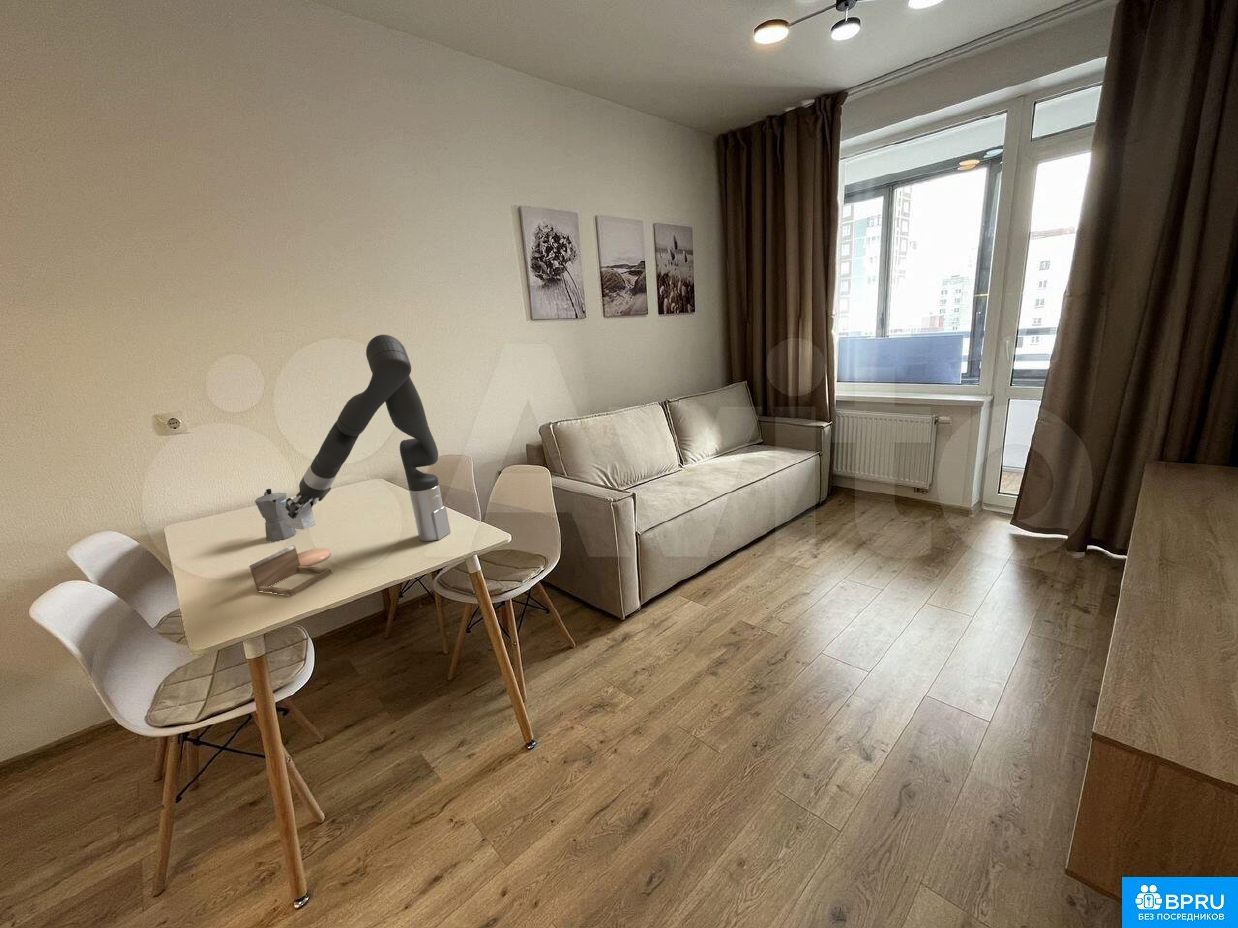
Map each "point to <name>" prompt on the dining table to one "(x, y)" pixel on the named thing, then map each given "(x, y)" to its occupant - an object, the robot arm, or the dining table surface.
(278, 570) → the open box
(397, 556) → the dining table surface
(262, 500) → the coffeepot
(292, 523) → the medicine box
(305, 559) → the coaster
